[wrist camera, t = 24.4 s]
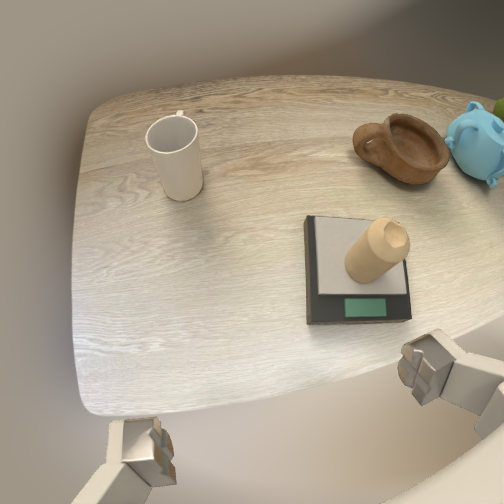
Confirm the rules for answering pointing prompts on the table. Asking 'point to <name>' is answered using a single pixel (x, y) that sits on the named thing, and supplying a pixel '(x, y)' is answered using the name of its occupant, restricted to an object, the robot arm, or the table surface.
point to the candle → (377, 250)
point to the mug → (176, 155)
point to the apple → (499, 109)
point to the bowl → (403, 148)
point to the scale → (348, 278)
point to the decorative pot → (478, 144)
